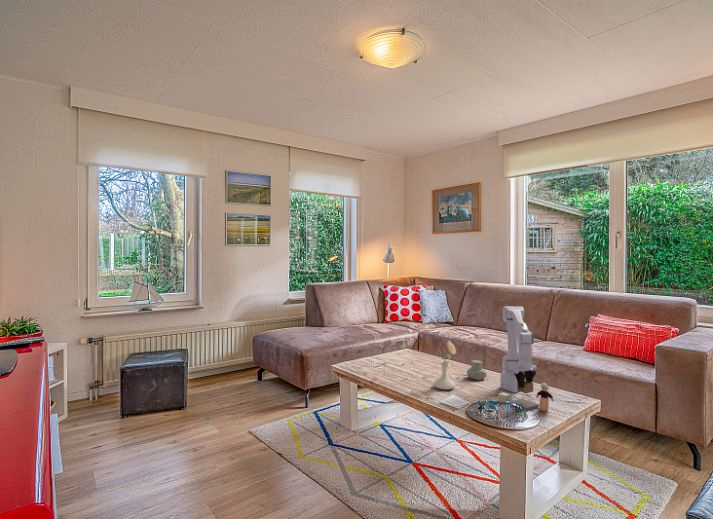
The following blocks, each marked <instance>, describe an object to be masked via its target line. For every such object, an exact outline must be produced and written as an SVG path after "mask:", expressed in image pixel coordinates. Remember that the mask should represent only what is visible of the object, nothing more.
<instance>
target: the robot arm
mask: <svg viewBox="0 0 713 519" xmlns="http://www.w3.org/2000/svg"><path fill="white" fill-rule="evenodd" d="M524 317H525V309H524V307H523V306H521V305H520V306H506V305H504V306H503V307H502V319H503V320H502V321H503V322H504V323H506V333H507V334H506V336H507V353H506V354H505V355H504V356H503V357H502V364H501V366H502V372H501V373H500V382H499V383H500V385H499V388H500V389H503V390H506V391H508V392H511V393H518V392H519V391H517V382H518V386H519V387H520V388H523V387H524V380H525V381H528V382H531V383H533V380H534V377H535V376H536V374H537V371H536V370H537V365H536V364H533V362H532V359H533V352H532V351H533V346H532V345H534V340H535V338H534V333H533V332H532V331H530V330H529V327H528V326H527V324H526V322H524V320H523V319H524Z"/></svg>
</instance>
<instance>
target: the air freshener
mask: <svg viewBox="0 0 713 519" xmlns="http://www.w3.org/2000/svg"><path fill="white" fill-rule="evenodd" d="M470 363H471V364H470V365H471V366H470V368H468V369H467V371H466V374H467V375H466V376H468V378H470V379H472V380H474V381H481V380H484V379H485V378H486V377H487V372H486V370H485V369H484V368H483V362H482V360H479V359H477V360H476V359H473V360H471V362H470Z"/></svg>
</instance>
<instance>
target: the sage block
mask: <svg viewBox="0 0 713 519" xmlns="http://www.w3.org/2000/svg"><path fill="white" fill-rule="evenodd" d="M498 401H499V402H498ZM506 401H510V402H511V394H510V393H507V392H504V391H503V392H499V393H498V394H497V402H498V403H501V402H506Z"/></svg>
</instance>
